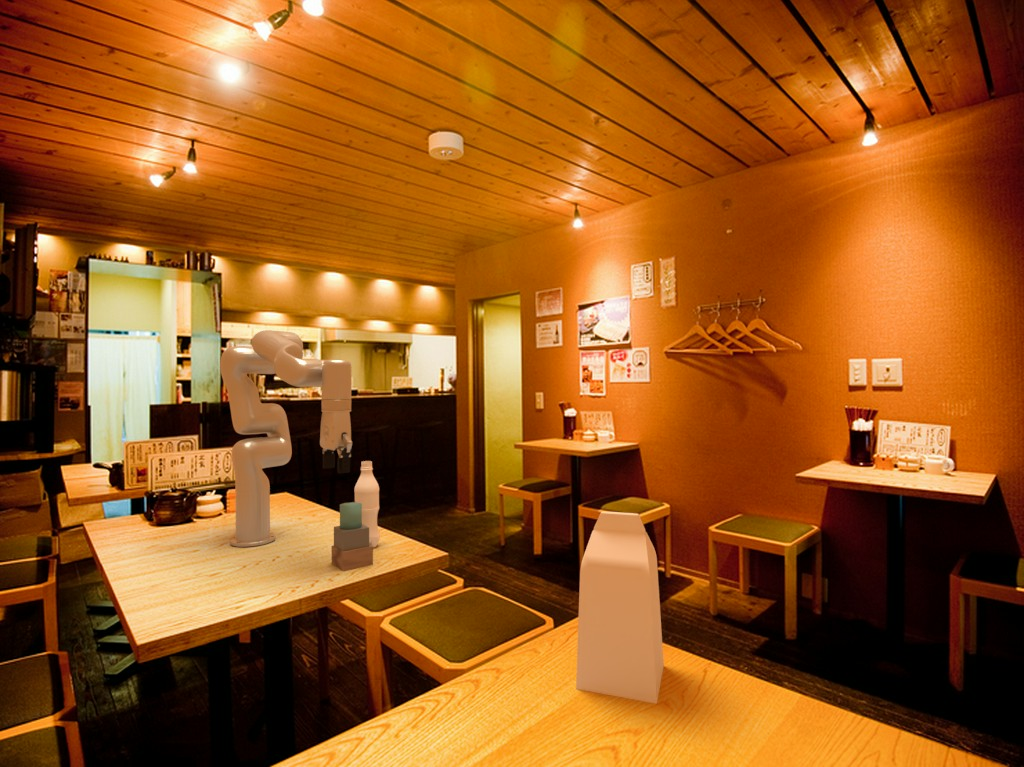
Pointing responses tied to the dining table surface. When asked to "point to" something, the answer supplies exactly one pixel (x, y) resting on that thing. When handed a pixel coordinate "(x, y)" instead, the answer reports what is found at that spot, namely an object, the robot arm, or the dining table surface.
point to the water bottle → (368, 500)
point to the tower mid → (351, 538)
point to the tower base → (352, 558)
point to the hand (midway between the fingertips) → (336, 470)
